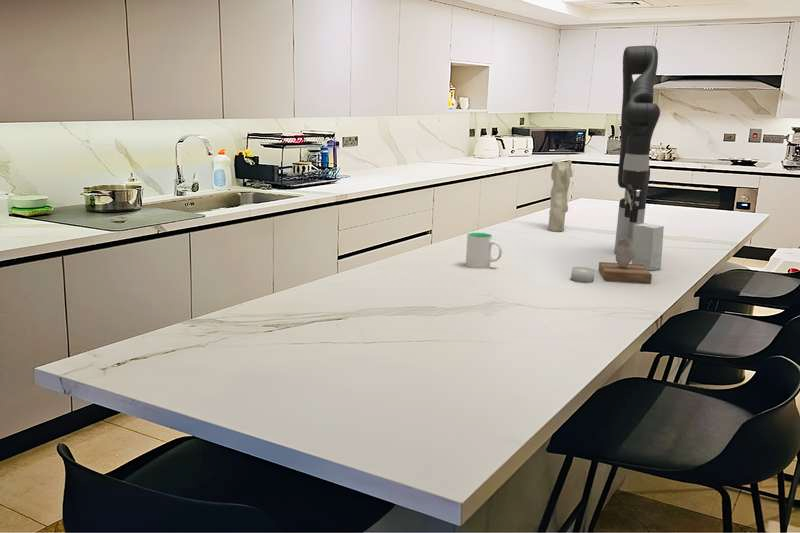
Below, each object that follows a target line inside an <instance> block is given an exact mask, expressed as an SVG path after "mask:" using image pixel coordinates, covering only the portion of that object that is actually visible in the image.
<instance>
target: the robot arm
mask: <svg viewBox="0 0 800 533" xmlns="http://www.w3.org/2000/svg"><path fill="white" fill-rule="evenodd" d="M658 52H659V51H658V48H657V47H656V46H655V45H631V46H626V47H625V48H624V50H623V54H622V56H623V57H622V103H621V104H622V105H621V116H620V117H621V119H620V120H621V121H620V152H619V162H618V170H617V184H618V186H619V188H621V189H624V197H623V198H621V199H620V200H619V205H618V212H617V223H616V224H617V225H616V232H615V243H614V249H613V250H614V253H615V254H616V249H617V246H618V240H619V239H623V238H627V237H628V238H629V240H630V241H631V243H632V245H633V237H634V225H636V224H643V223H644V221H645V214H646V204H647V198H648V197H647V196H648V189H649V182H650V179H651V178H650V176H651V166H650V153H651V152H650V150H651V142H652V138H653V135H654V131H655V128H656V126H657V124H658V122H659V119H660V116H661V110H660V109H661V108H660V107H659V105H658V104H656V103H654V85H655V81H656V77H657V70H658V64H659V63H658V61H659V53H658ZM634 75H639V76H638V77H637V78H635V80H634V79H633V76H634Z"/></svg>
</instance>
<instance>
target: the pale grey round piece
mask: <svg viewBox="0 0 800 533" xmlns="http://www.w3.org/2000/svg"><path fill="white" fill-rule="evenodd" d="M595 272H596V271H595V269H593V268H591V267H585V266H574V267H572V268H571V272H570V273H571V275H570V280H571V281H573V282H576V283H583V284H586V283H587V284H590V283H593V282H594V281H595Z"/></svg>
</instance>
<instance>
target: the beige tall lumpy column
mask: <svg viewBox="0 0 800 533" xmlns="http://www.w3.org/2000/svg"><path fill="white" fill-rule="evenodd" d="M551 164H552V169H551V173H550V175H551V176H550V177H551V180H552V183H553V184H552V187H551V189H550V190H551V191H550V208H549V209H550V210H549V217H548V218H549V219H548V228H547V229H548V230H549V231H550V232H551V231H552V232H557V233H558V232H564V231H565V219H566V213H568V211H569V206H568V204H569V203H568V191H569V187H570V183H571V178H572V177H573V170H572V164H573V163H572V159H571V160H567V161H552V162H551Z"/></svg>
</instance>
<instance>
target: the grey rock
mask: <svg viewBox="0 0 800 533" xmlns="http://www.w3.org/2000/svg"><path fill="white" fill-rule="evenodd" d="M634 256H635V251H634V247H633V245H632V243H631V241H630V240H629V238H628V237H627V238H623V239H619V240H618V246H617V249H616V253H615V263H618V265H619V266H620V267H621V268H625V267H626V266H627V265H628V264H631V263H632V259H633V258H634Z"/></svg>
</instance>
